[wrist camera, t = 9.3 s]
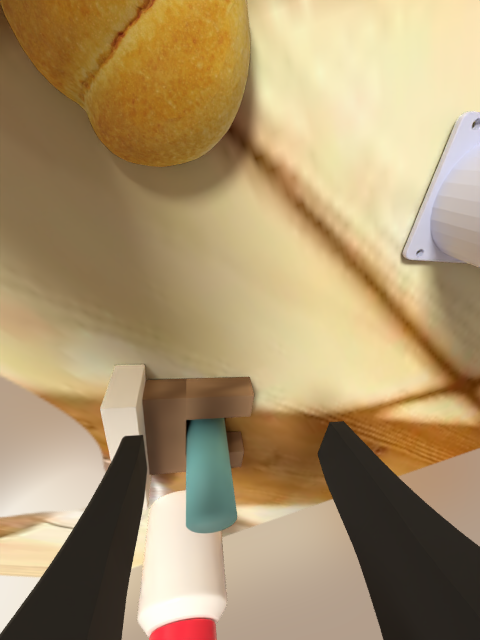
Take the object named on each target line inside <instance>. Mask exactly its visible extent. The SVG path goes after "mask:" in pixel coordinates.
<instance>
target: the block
mask: <svg viewBox="0 0 480 640" xmlns="http://www.w3.org/2000/svg"><path fill="white" fill-rule="evenodd" d="M253 400H254V392H253V389H252V385H251V381H250V377H233V378H196V379H160V380H146V382H145V387H144V393H143V398H142V404H143V414H144V424H145V434H146V444H147V455H148V465H149V475H155V474H166V473H177V472H186V443H187V435H186V420H195V419H213V418H232V417H250V416H251V411H252V406H253ZM226 435H227V443H228V450H229V458H230V465H231V468H234V467H241V465H242V460H243V455H244V448H243V442H242V437H241V431H240V432H226Z"/></svg>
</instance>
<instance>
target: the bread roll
mask: <svg viewBox="0 0 480 640" xmlns="http://www.w3.org/2000/svg"><path fill="white" fill-rule="evenodd" d="M0 3H1V6H2V9H3V11H4V14H5V17H6V19H7V21H8V22H9V24H10V26H11V29H12V30H13V32H14V34H15V36H16V38H17V40H18V41H19V43H20V45H21V47H22V49H23V50H24V52H25V53H26V54H27V56H28V57H29V59H30V60H31V61H32V63H33V64H34V65H35V67H36V68H37V69H38V70H39V71H40V73H41V74H42V75H43V76H44V77H45V78H46V79H47V80H48V81H49V82H50V83H51V84H52V85H53V86H54V87H55V88H57V89H58V90H59V91H60V92H61V93H63V94H64V95H65V96H67V97H68V98H70V99H71V100H73V101H75V102H76V103H78V104H79V105H80V106H81V107H82V108H83V109H84V110H85V111H86V113H87V114H88V118H89V120H90V123H91V125H92V127H93V129H94V131H95V133H96V135H97V136H98V138H99V139H100V140H101V142H102V143H103V144H104V145H105V146H106V147H107V148H108V149H109V150H110V151H111V152H112V153H114V154H115V155H117V156H118V157H120V158H122V159H124V160H126V161H128V162H132V163H136V164H141V165H147V166H157V167H165V166H172V165H177V164H181V163H186V162H189V161H192V160H195V159H198V158H199V157H201V156H203V155H204V154H206V153H207V152H208V151H210V150H211V149H212V148H213V147H214V146H215V145H216V144H217V143H218V142H219V141H220V140H221V139H222V137H223V136H224V135H225V133H226V132H227V131H228V130H229V128H230V126H231V124H232V122H233V120H234V118H235V116H236V114H237V112H238V109H239V107H240V104H241V101H242V98H243V94H244V91H245V87H246V82H247V77H248V71H249V61H250V28H249V19H248V10H247V0H0Z"/></svg>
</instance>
